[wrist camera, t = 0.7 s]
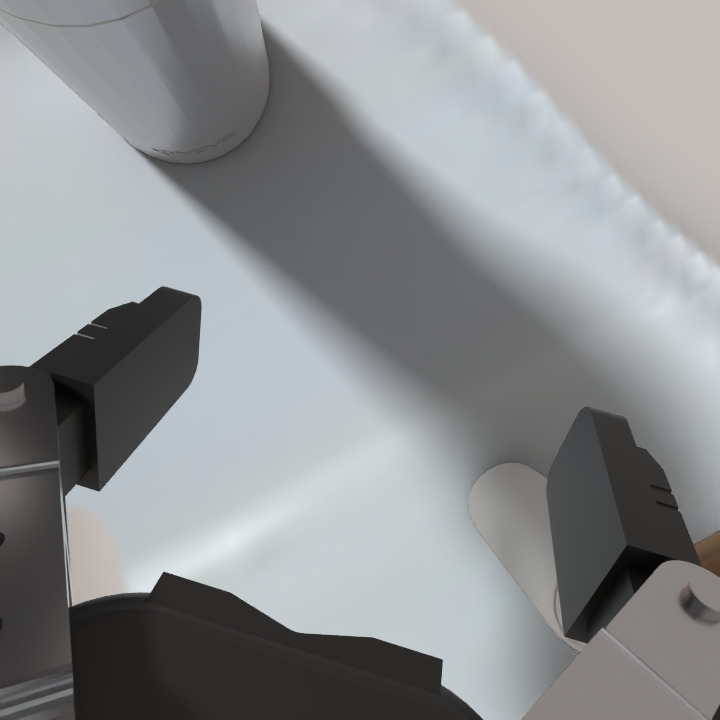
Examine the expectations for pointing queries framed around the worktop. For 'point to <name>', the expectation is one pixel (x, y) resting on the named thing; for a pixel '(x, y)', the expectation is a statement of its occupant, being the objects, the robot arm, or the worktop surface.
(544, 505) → the beverage can
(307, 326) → the worktop surface
